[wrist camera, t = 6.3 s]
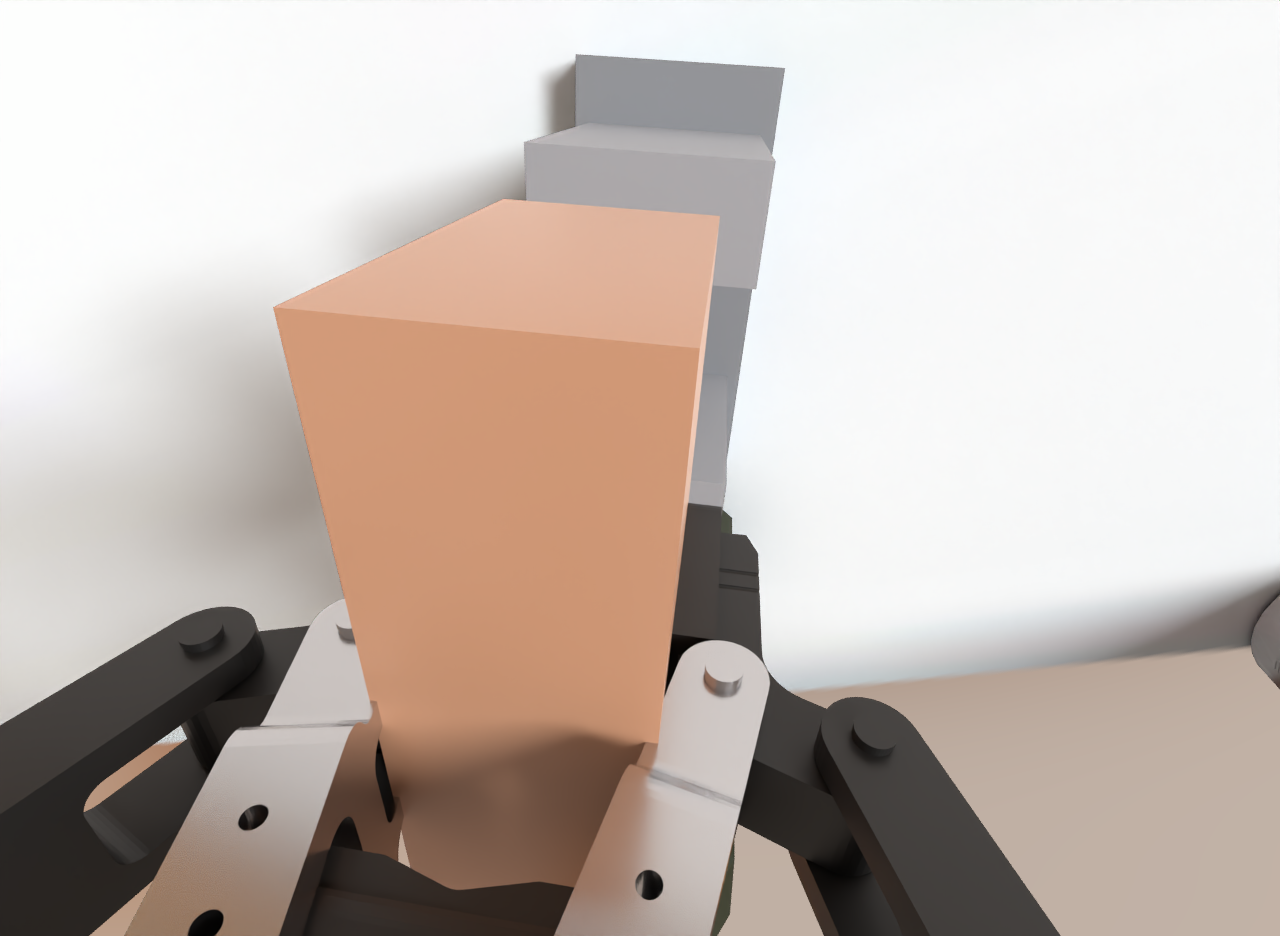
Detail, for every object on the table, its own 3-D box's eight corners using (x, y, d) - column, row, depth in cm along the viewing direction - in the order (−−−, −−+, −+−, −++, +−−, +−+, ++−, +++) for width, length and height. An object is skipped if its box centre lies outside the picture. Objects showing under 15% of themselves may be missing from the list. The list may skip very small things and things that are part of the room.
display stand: (782, 68, 22) (814, 61, 14) (724, 461, 31) (722, 606, 22) (584, 55, 23) (498, 41, 14) (580, 445, 31) (524, 582, 23)
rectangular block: (719, 216, 10) (699, 347, 5) (664, 717, 16) (630, 1007, 11) (503, 198, 10) (272, 307, 5) (529, 698, 17) (436, 970, 11)
